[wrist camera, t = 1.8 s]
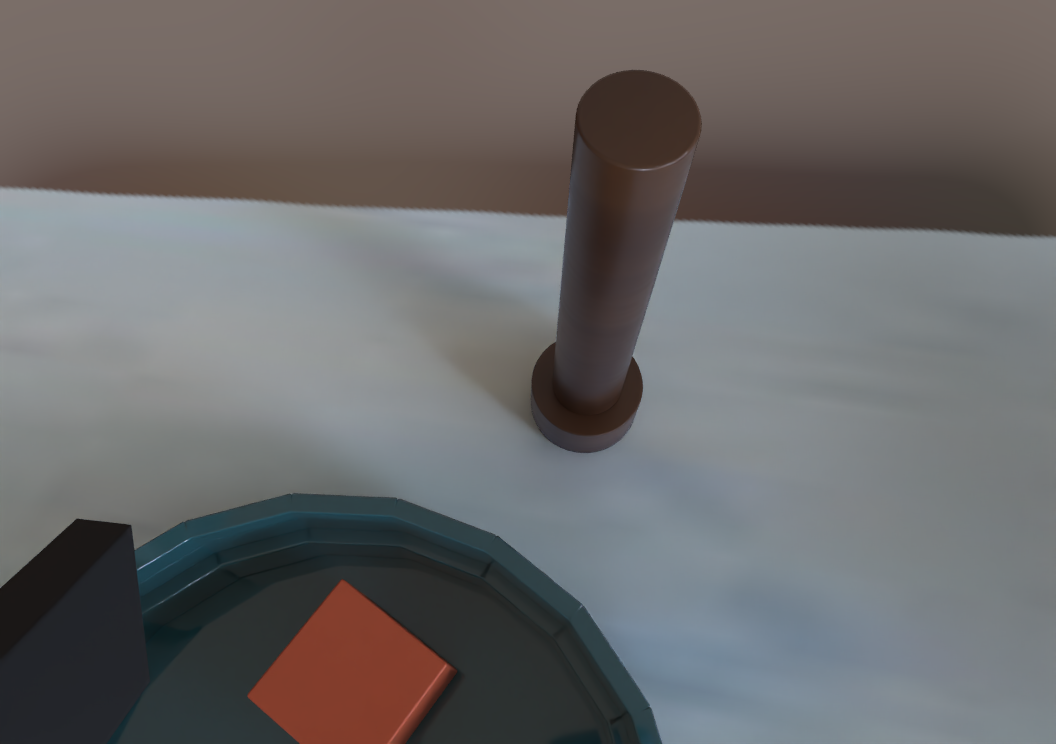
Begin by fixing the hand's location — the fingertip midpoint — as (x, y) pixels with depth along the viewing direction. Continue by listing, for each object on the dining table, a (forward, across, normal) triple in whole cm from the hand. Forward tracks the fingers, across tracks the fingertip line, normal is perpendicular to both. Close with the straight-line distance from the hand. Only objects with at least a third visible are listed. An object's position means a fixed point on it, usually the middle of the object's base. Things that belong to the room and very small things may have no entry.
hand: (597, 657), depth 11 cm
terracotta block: (+11, -6, -12) cm, 17 cm away
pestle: (+19, 0, -5) cm, 20 cm away
